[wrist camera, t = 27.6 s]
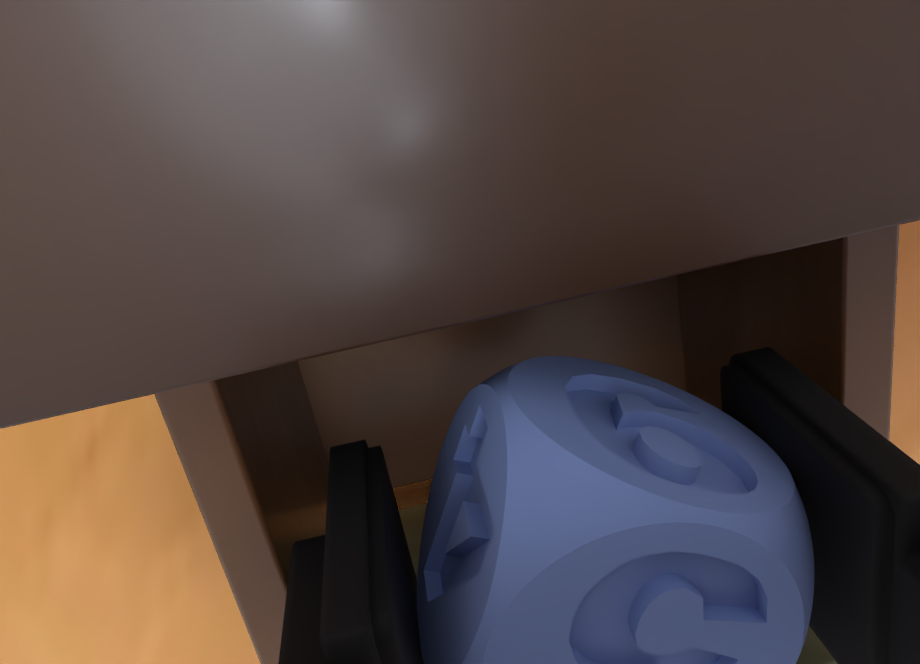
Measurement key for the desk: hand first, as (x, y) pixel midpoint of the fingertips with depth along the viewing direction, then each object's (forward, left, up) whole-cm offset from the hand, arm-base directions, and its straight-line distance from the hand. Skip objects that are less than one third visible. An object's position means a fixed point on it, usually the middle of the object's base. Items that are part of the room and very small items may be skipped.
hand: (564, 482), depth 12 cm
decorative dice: (0, 0, -1) cm, 1 cm away
